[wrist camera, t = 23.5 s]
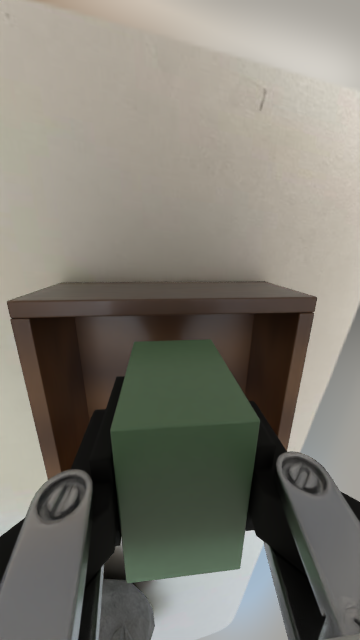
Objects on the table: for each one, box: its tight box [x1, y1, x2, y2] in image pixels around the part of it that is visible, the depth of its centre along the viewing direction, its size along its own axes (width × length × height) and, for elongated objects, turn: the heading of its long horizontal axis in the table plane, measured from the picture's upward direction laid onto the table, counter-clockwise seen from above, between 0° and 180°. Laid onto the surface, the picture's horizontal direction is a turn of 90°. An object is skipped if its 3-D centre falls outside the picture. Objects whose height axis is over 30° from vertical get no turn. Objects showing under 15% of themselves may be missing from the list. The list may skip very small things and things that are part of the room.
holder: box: [7, 281, 317, 480], centre depth 15 cm, size 15×14×6 cm
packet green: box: [110, 339, 260, 583], centre depth 8 cm, size 6×3×5 cm, turn 0°
